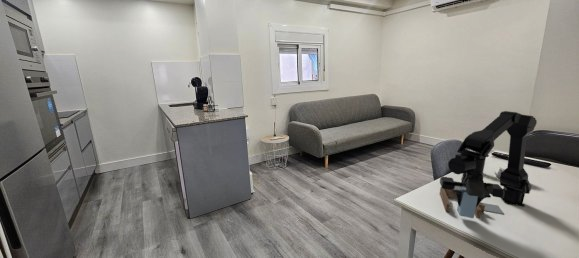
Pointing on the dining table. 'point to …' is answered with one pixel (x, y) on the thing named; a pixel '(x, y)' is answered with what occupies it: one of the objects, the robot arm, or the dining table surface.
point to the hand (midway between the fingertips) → (466, 206)
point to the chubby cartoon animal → (499, 172)
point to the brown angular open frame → (450, 193)
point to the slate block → (467, 204)
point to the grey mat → (492, 208)
